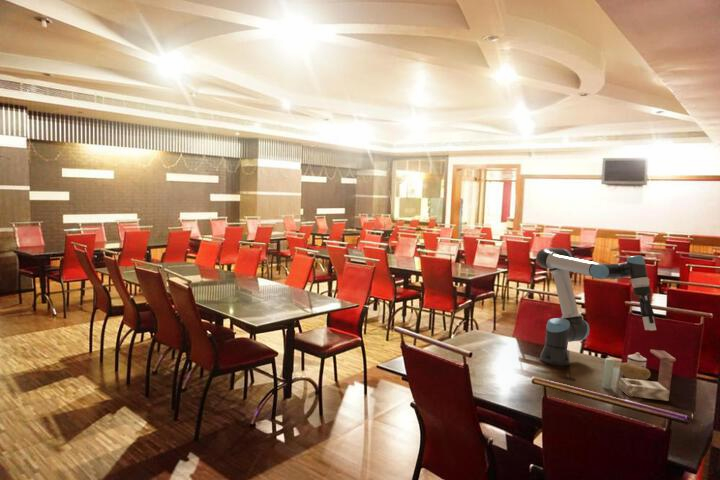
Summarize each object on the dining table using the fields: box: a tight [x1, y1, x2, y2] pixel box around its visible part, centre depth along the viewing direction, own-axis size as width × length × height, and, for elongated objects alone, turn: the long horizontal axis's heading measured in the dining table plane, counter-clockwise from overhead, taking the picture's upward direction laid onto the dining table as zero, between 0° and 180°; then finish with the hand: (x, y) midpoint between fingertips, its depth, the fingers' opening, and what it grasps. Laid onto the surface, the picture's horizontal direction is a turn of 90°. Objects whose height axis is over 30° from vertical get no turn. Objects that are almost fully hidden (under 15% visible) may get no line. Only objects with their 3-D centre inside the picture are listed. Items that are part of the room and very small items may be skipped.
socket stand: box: [618, 349, 677, 402], centre depth 224 cm, size 18×12×20 cm, turn 80°
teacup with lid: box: [626, 352, 648, 369], centre depth 253 cm, size 12×9×12 cm
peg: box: [602, 357, 615, 390], centre depth 230 cm, size 4×4×14 cm
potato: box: [619, 362, 652, 381], centre depth 243 cm, size 10×14×8 cm
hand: (650, 330), depth 232 cm, fingers open, 13 cm apart
